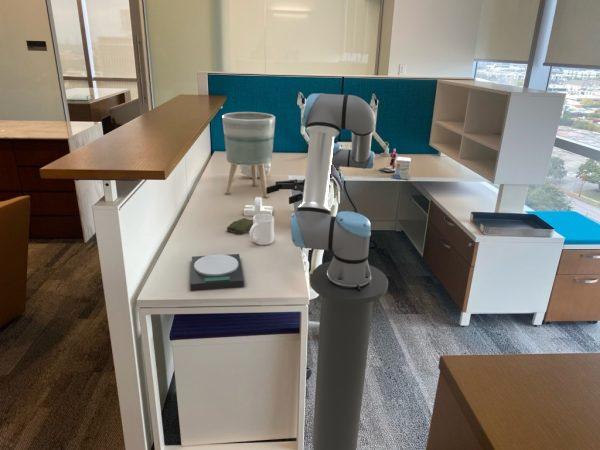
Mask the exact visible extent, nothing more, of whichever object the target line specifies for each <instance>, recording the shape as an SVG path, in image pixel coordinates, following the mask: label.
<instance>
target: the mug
mask: <svg viewBox="0 0 600 450" xmlns="http://www.w3.org/2000/svg"><path fill="white" fill-rule="evenodd" d="M252 220H253V226H252V227H251V229H249V232H250V233H249V234H248V236H249V239H250V241H251V242H254V244H256V245H259V246H267V245H271V244H272V243H273V242H274V240H275V217H274V215H273V214H272V215H269V214H258V215H255V216H252Z"/></svg>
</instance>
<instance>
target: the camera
mask: <svg viewBox="0 0 600 450" xmlns="http://www.w3.org/2000/svg"><path fill="white" fill-rule="evenodd" d="M271 166H272V165H271V162H270V163H268V164H264V170H265V176H266V175H268V174H270V173H271ZM239 172H240V174H242V175H245V176H247V178H251V179H252V172H251V166H243V165H239ZM256 172H257V179H258V178H260V175H259V171H258V166H256Z"/></svg>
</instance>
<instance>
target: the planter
mask: <svg viewBox="0 0 600 450" xmlns="http://www.w3.org/2000/svg"><path fill="white" fill-rule="evenodd" d="M221 117H222V119H221V120H222V128H223V135H224V136H223V138H224V147H225V148H224V149H225V159H226V162H228V163H229V164H230V169H229V174H228V178H227V183H226V185H227V186H226V190H225V195H230V194H231V190H232V187H233V182H234V179H235V175H236V172H237V168H238V166H240V165H243V166H251V172H252V177H251V180H252V186H253V187H256V186H257V185H258V178H257V172H256V166H258V171H259V175H260V177H259V180H260V184H261V188H262V194H263V197H264V198H268V197H269V194H266V187H268V186H267V178H266V175H265V170H264V164H268V163H270V164H271V163H272V162H273V161H272V160H273V152H274V151H273V150H274V140H275V128H276V116H275V115H274V114H271V113H267V112H257V111H235V112H228V113H224V114H222V116H221Z"/></svg>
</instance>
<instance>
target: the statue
mask: <svg viewBox="0 0 600 450" xmlns="http://www.w3.org/2000/svg"><path fill="white" fill-rule="evenodd" d="M392 151H393V152H390V154H389V157H390V162H389V166H390V167H385V166H383V168H382V167H381V168H379V170H380V171H382V172H383V173H387V172H390V173H392V172H395V167H396V159H397V157H398V153H397V152H396V151H397V150H396V148H393V150H392Z"/></svg>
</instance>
